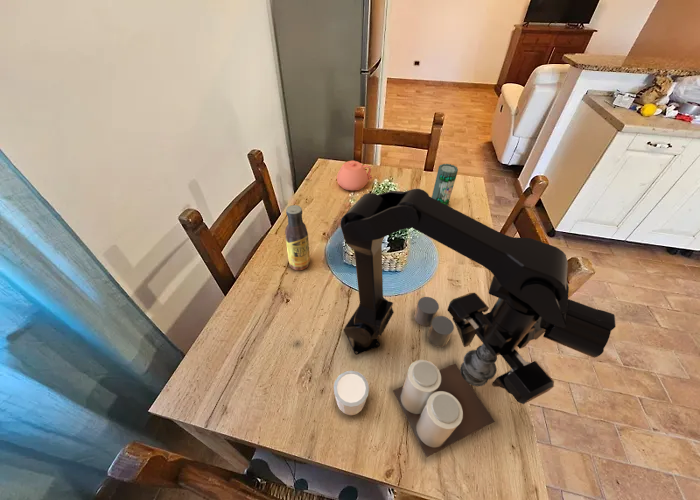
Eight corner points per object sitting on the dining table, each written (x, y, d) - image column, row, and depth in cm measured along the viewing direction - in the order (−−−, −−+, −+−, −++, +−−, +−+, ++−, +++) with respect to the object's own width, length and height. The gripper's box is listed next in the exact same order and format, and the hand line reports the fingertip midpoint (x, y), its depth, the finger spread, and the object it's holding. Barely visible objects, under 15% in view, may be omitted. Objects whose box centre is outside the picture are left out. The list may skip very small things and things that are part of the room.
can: (438, 211, 111) (447, 174, 101) (427, 202, 115) (435, 166, 105) (450, 206, 114) (461, 170, 103) (439, 198, 117) (448, 162, 107)
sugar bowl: (335, 177, 127) (335, 154, 120) (369, 176, 128) (370, 153, 121) (338, 194, 118) (337, 170, 111) (374, 192, 120) (375, 168, 113)
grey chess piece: (496, 384, 58) (521, 354, 50) (467, 391, 57) (488, 361, 49) (480, 355, 62) (501, 323, 54) (453, 361, 61) (470, 329, 53)
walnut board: (425, 458, 57) (426, 457, 57) (392, 391, 66) (392, 390, 65) (494, 422, 61) (495, 421, 61) (454, 364, 70) (455, 363, 70)
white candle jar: (335, 383, 66) (334, 369, 62) (367, 385, 66) (368, 370, 62) (333, 418, 62) (332, 405, 57) (367, 419, 61) (369, 407, 57)
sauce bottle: (297, 274, 89) (288, 221, 75) (285, 263, 92) (274, 209, 78) (315, 264, 92) (310, 210, 78) (303, 253, 95) (296, 199, 81)
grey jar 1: (420, 330, 76) (425, 316, 72) (410, 314, 80) (414, 300, 75) (437, 323, 78) (443, 309, 73) (426, 308, 81) (431, 294, 77)
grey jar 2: (434, 350, 72) (439, 337, 68) (422, 333, 76) (427, 319, 71) (452, 343, 74) (458, 330, 69) (440, 326, 77) (445, 312, 73)
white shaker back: (409, 419, 61) (419, 395, 53) (395, 390, 65) (402, 364, 57) (435, 406, 63) (449, 382, 55) (419, 379, 67) (430, 353, 58)
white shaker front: (427, 453, 57) (441, 433, 49) (410, 420, 61) (420, 397, 53) (453, 439, 59) (471, 418, 50) (436, 408, 63) (450, 383, 54)
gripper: (605, 351, 43) (552, 395, 53) (508, 261, 55) (481, 311, 66) (546, 382, 39) (502, 422, 50) (456, 279, 52) (437, 329, 63)
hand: (479, 364), depth 57 cm, fingers closed on grey chess piece, 8 cm apart
